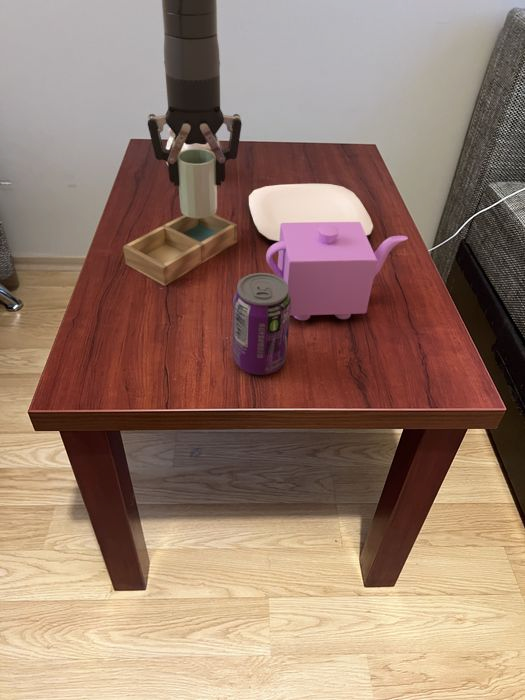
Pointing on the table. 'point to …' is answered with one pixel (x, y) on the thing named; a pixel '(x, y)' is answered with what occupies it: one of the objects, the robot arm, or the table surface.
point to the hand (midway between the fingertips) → (197, 183)
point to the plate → (305, 207)
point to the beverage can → (261, 323)
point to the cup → (197, 183)
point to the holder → (179, 246)
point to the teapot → (328, 267)
